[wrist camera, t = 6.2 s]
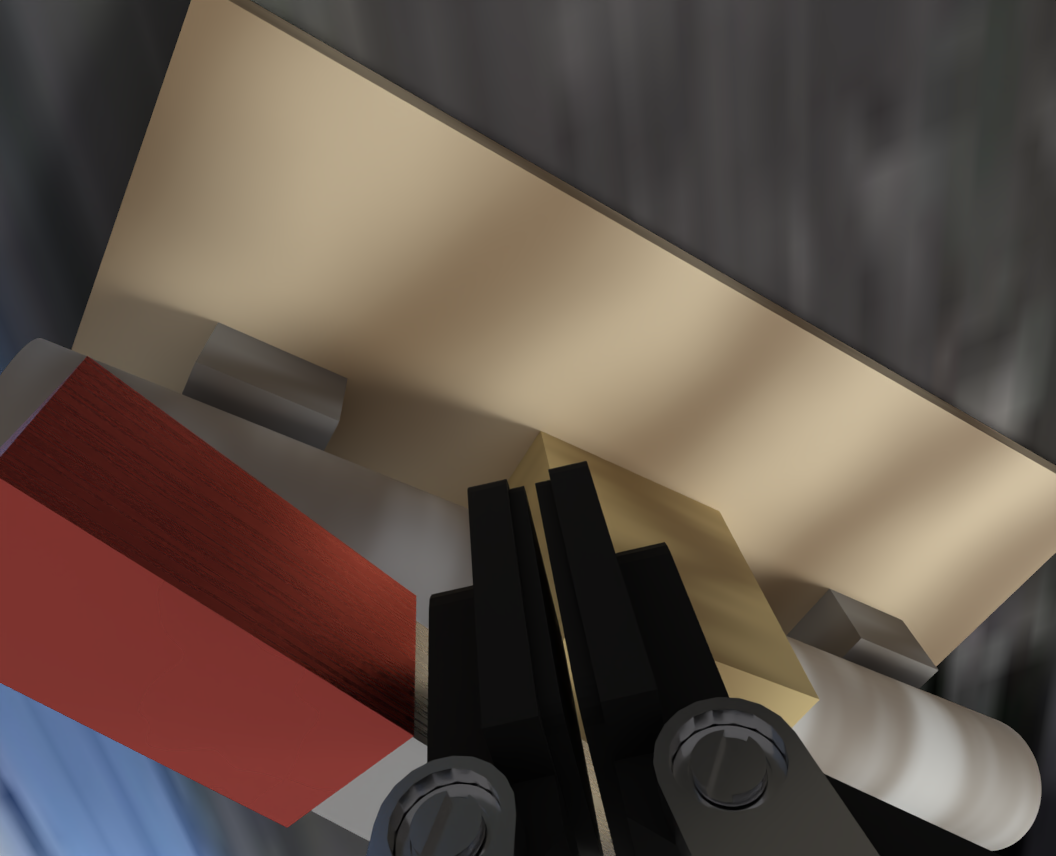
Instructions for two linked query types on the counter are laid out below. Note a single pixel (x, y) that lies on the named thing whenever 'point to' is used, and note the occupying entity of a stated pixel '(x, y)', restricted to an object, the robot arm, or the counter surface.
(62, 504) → the valve lever
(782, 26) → the counter surface
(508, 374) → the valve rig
